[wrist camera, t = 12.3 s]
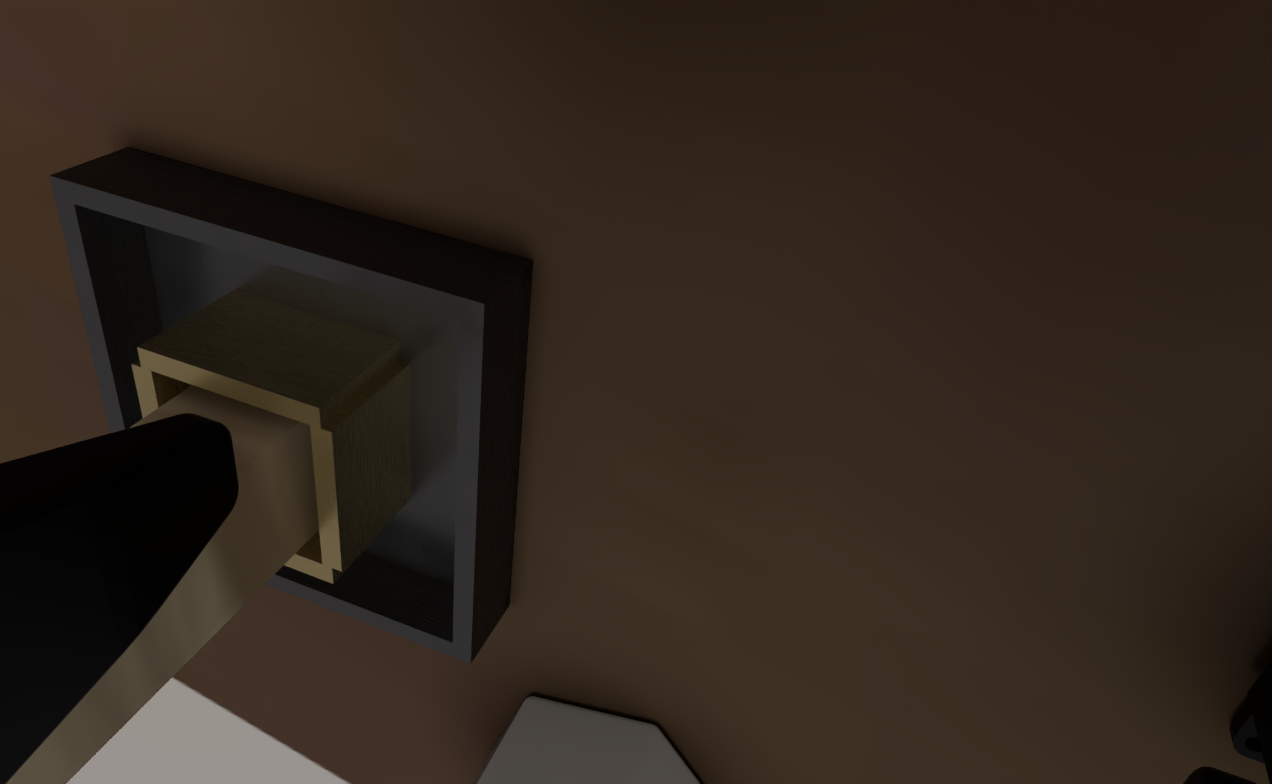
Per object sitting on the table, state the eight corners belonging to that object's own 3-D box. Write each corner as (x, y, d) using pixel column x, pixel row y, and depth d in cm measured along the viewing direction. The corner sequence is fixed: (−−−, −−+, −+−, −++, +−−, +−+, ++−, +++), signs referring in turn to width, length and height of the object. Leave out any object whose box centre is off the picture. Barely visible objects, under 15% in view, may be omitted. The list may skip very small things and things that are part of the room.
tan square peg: (369, 364, 25) (-90, 744, 15) (381, 467, 27) (-19, 868, 17) (261, 338, 26) (-243, 678, 16) (280, 438, 28) (-160, 803, 18)
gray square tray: (532, 260, 23) (450, 334, 19) (508, 605, 29) (445, 702, 26) (127, 147, 25) (-5, 194, 22) (190, 488, 32) (96, 562, 29)
